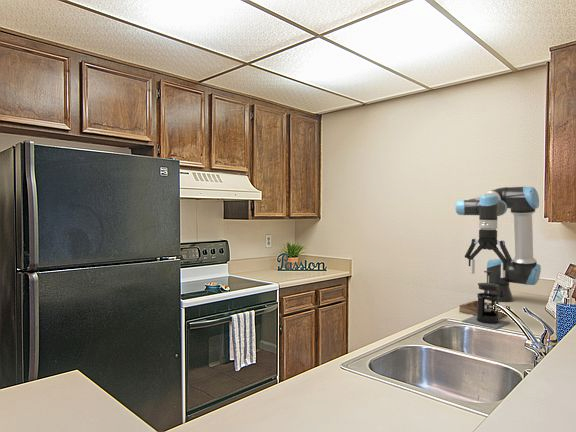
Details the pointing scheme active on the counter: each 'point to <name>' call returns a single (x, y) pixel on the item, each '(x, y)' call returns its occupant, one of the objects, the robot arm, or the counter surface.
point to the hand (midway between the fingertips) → (487, 275)
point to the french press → (481, 314)
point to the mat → (494, 326)
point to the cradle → (475, 308)
